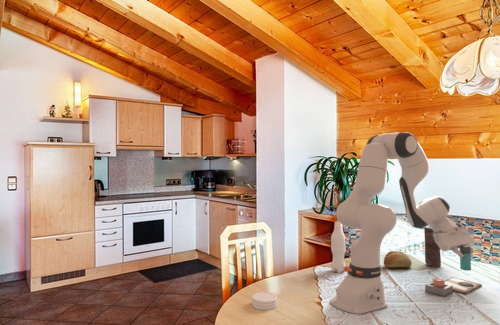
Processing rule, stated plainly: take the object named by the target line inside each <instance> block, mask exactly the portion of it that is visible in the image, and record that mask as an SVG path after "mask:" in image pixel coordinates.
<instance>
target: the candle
mask: <svg viewBox="0 0 500 325" xmlns="http://www.w3.org/2000/svg"><path fill="white" fill-rule="evenodd" d="M423 230H424V262H425V264H426V265H427V266H429V267H431V268H437V267H438V268H439V267H440V266H441V265H442V259H441V249H440V248H439V246H438V245H437V243H436V242H435V240H434V237H433V232H434V231H433V229H432V227H427V226H425V227H424V228H423Z"/></svg>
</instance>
